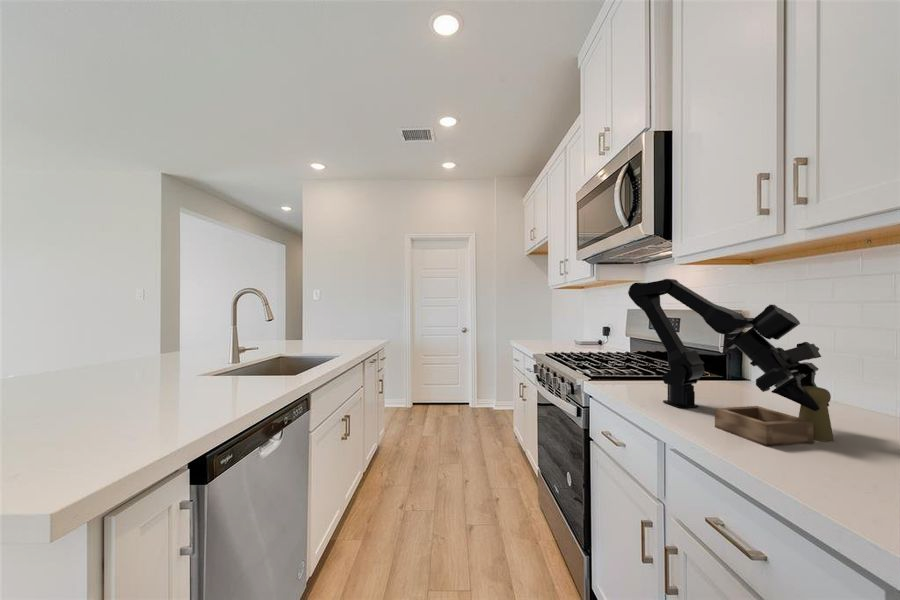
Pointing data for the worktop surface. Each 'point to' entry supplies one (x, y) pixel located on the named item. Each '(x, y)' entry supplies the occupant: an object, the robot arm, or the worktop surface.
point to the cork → (818, 414)
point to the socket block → (764, 425)
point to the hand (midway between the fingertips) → (822, 408)
